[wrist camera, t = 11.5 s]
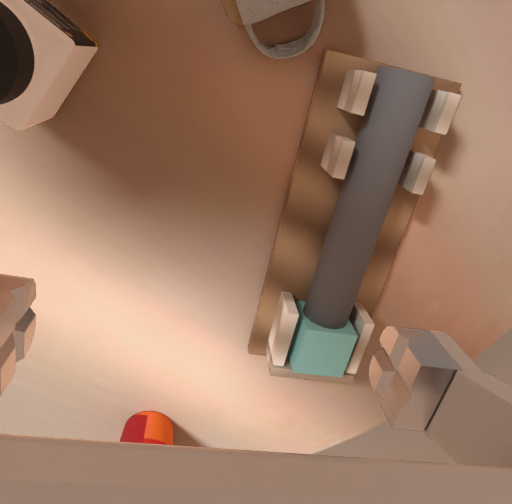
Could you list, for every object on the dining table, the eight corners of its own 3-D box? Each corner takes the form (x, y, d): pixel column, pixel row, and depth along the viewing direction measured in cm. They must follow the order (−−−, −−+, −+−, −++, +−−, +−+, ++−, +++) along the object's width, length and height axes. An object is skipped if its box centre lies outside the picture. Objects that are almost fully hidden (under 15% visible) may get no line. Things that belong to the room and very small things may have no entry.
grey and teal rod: (367, 64, 34) (391, 65, 30) (422, 78, 35) (454, 82, 31) (284, 340, 45) (293, 372, 41) (328, 345, 46) (341, 377, 41)
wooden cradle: (324, 49, 34) (342, 48, 30) (455, 83, 37) (490, 87, 32) (247, 347, 46) (252, 379, 42) (350, 359, 48) (364, 390, 44)
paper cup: (116, 452, 51) (87, 584, 38) (113, 404, 47) (79, 530, 35) (183, 450, 52) (175, 579, 39) (184, 403, 49) (176, 525, 36)
